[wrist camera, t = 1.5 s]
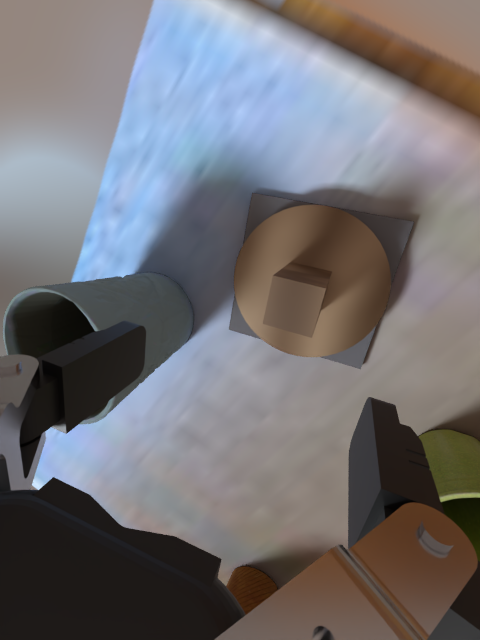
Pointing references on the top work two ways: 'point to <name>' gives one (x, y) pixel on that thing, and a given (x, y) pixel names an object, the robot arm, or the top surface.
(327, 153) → the top surface
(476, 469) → the plant pot
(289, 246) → the lid
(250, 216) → the mat
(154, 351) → the grey green tapered cylinder
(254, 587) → the disposable coffee cup
